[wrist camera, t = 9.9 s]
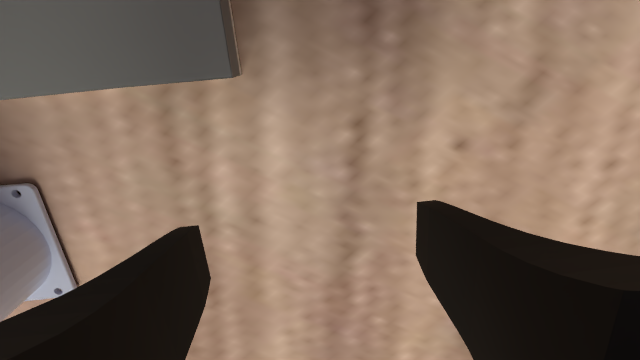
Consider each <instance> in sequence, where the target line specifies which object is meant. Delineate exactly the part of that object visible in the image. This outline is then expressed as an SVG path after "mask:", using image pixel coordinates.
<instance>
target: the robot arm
mask: <svg viewBox="0 0 640 360" xmlns="http://www.w3.org/2000/svg"><path fill="white" fill-rule="evenodd" d="M17 190H18V191H19V192H20V193H21V195H19V194H18V193H17ZM416 256H417V259H418V261H419V264H420V266H421V269H422V271H423V273H424V275H425V278H426V280H427V281H428V283H429V285H430V287H431V288H432V290H433V292H434V293H435V295H436V296H437V298H438V300H439V301H440V303H441V305H442V306H443V308H444V309H445V311H446V313H447V314H448V316H449V317H450V319H451V321H452V322H453V324H454V326H455V327H456V329H457V330H458V332H459V334H460V335H461V337H462V339H463V340H464V342H465V344H466V346H467V348H468V349H469V351H470V353H471V355H472V358H473V360H640V256H634V255H627V254H621V253H614V252H608V251H603V250H597V249H592V248H587V247H582V246H577V245H572V244H568V243H563V242H559V241H555V240H552V239H548V238H544V237H540V236H536V235H533V234H530V233H526V232H523V231H520V230H517V229H514V228H511V227H508V226H505V225H502V224H499V223H496V222H494V221H491V220H488V219H486V218H483V217H480V216H478V215H475V214H473V213H470V212H468V211H465V210H463V209H460V208H458V207H455V206H452V205H450V204H447V203H444V202H441V201H436V200H433V201H423V202H417V230H416ZM210 280H211V277H210V272H209V268H208V264H207V260H206V255H205V251H204V247H203V243H202V238H201V234H200V230H199V225H197V226H188V227H179V228H177V229H175V230H173V231H171V232H169V233H168V234H166V235H164V236H163V237H161V238H159V239H158V240H156V241H155V242H153V243H152V244H150V245H148V246H147V247H145V248H144V249H142V250H141V251H139V252H138V253H136V254H134V255H133V256H131V257H130V258H128V259H126V260H125V261H123V262H121V263H120V264H118V265H116V266H115V267H113V268H111V269H110V270H108V271H106V272H105V273H103V274H101V275H100V276H98V277H96V278H94V279H92V280H90V281H89V282H87V283H85V284H83V285H81V286H79V287H77V285H76V283H75V280H74V278H73V275H72V273H71V270H70V268H69V265H68V263H67V260H66V258H65V256H64V253H63V251H62V248H61V246H60V243H59V241H58V238H57V236H56V233H55V231H54V228H53V226H52V223H51V221H50V219H49V216H48V214H47V211H46V209H45V206H44V204H43V201H42V199H41V196H40V194H39V191H38V189H37V188H36V187H35V186H34V185H33V184H30V183H22V184H12V185H1V186H0V360H185V359H186V356H187V353H188V351H189V348H190V345H191V343H192V340H193V337H194V335H195V332H196V329H197V327H198V324H199V321H200V318H201V316H202V313H203V310H204V307H205V304H206V299H207V295H208V290H209V285H210ZM58 288H60V289H61V290H62V291H61V290H59V289H58ZM49 298H55V299H53V300H50V301H48V302H46V303H44V304H41V305H39V306H37V307H34V308H32V309H30V310H27V311H25V312H23V313H20V314H18V315H16V316H13V317H11V318H9V319H6V320H4V319H5V318H6V317H7V316H8V315H9V314H10V313H12V312H13V311H14V310H15V309H16V308H17V307H18V306H19V305H20V304H21V303H23V302H24V301H31V300H40V299H49ZM3 320H4V321H3Z"/></svg>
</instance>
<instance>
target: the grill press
mask: <svg viewBox="0 0 640 360" xmlns="http://www.w3.org/2000/svg"><path fill="white" fill-rule="evenodd" d="M229 76H231V71H230V65H229V59H228V53H227V47H226V41H225V34H224V28H223V22H222V16H221V10H220V4H219V0H0V100H6V99H16V98H26V97H35V96H45V95H55V94H64V93H74V92H84V91H93V90H103V89H113V88H122V87H132V86H142V85H151V84H161V83H171V82H180V81H190V80H200V79H209V78H219V77H229Z"/></svg>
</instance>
